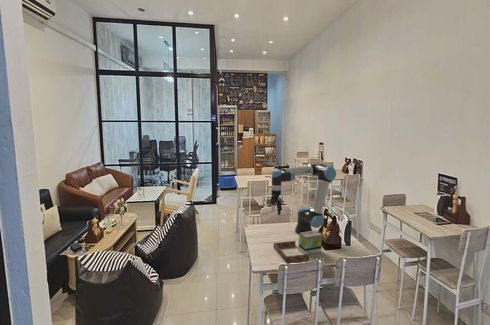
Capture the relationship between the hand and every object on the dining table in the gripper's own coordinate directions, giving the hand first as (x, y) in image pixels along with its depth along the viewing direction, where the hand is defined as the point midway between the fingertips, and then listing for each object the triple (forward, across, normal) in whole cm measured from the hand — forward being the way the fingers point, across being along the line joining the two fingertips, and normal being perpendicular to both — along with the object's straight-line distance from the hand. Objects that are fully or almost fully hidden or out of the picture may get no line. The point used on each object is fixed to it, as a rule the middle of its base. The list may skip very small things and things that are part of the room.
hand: (275, 215), depth 231 cm
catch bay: (+25, +16, +7) cm, 31 cm away
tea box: (+26, +16, +23) cm, 38 cm away
